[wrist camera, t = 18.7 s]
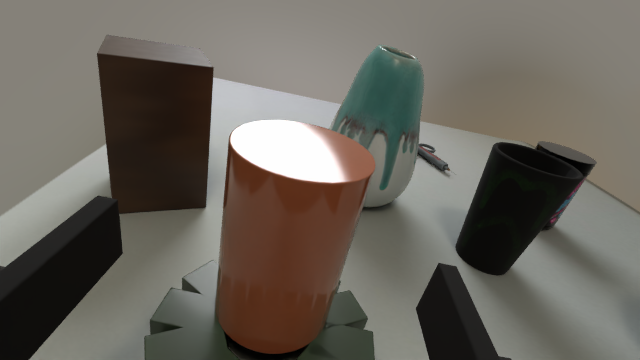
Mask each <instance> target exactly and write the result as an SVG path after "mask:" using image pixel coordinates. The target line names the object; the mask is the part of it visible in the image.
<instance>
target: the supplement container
mask: <svg viewBox="0 0 640 360" xmlns="http://www.w3.org/2000/svg"><path fill="white" fill-rule="evenodd" d="M535 150H538V151H541V152H544V153H546V154H549V155H552V156H554V157H556V158H558V159H560V160H562V161H564V162H566V163H568V164H570V165H572V166H573V167H575V168H576V169H578V170H579V171H580V172H581V173H582V175H583V180H582V181H581V182H580V183H579V185H578V186H577V187H576V188H575V190H574V191H573V192H572V193H571V194H570V196H569V197H568V198H567V199H566V200H565V202H564V203H563V204H562V205H561V207H560V208H559V209H558V210H557V211H556V213H555V214H554V215H553V216H552V217H551V219H550V220H549V221H548V222H547V224H546V225H545V226H544V227H543V228H542V230H546V229H550V228H552V227H554V225H555V224H556V222H557V221H558V219H559V218H560V216H561V215H562V213H563V212H564V210H565V209H566V207H567V206H568V204H569V203H570V201H571V200H572V198H573V197H574V195H575V194H576V192H577V191H578V189H579V188H580V186H581V185H582V183H583V182H584V180H585V179H586V177H587V176H588V175H589V174H590V172H591V170H592V169H593V167H594V166H595V164H596V161H595V160H594V159H592V158H591V157H589V156H587V155H585V154H583V153H581V152H578V151H576V150H573V149H571V148H568V147H565V146H561V145H558V144H554V143H550V142H543V141H541V142H538V144H537V146H536V148H535Z"/></svg>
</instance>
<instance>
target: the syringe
mask: <svg viewBox="0 0 640 360" xmlns="http://www.w3.org/2000/svg"><path fill="white" fill-rule="evenodd" d="M422 146H424V147H427V148H430V149H432V150H427V149H425V148H423V147H422ZM434 152H435V148H433V147H432V146H430V145H427V144H418V153H419V154H420V155H422V156H423V157H425V158H426V159H427V160H429V161H430V162H432V163H433V164H435V165H436V166H437V167H439V168H440V169H442V170H448V171H450V169H449V168H448V164H447V163H445V162H444V161H443V160H441V159H440V158H438V157H437V156H435V155H434V154H432V153H434ZM451 172H452V171H451ZM454 174H455V173H454Z"/></svg>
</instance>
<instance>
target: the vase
mask: <svg viewBox="0 0 640 360" xmlns="http://www.w3.org/2000/svg"><path fill="white" fill-rule="evenodd" d="M423 92H424V75H423V70H422V67H421V64H420V63H419V61H418V59H417V58H416V57H415V56H413V55H411V54H409V53H406V52H403V51H400V50H398V49H396V48H393V47H389V46H385V45H378V46H377V47H376V49H374V50H373V51H372V52H371V53H370V55H369V56H368V57H367V58H366V60H365V61H364V63H363V64H362V66H361V67H360V69H359V71H358V73H357V75H356V77H355V79H354V81H353V83H352V85H351V87H350V89H349V91H348V94H347V96H346V98H345V99H344V101H343V103H342V105H341V106H340V108H339V110H338V112H337V113H336V115H335V117H334V119H333V121H332V123H331V125H330V127H329V130H332V131H335V132H338V133H340V134H342V135H345V136H347V137H349V138H351V139H353V140H354V141H356V142H358V143H359V144H361V145H362V146H363V147H365V148H366V149H367V150H368V151H369V152H370V153H371V155H372V156H373V157H374V160H375V164H376V167H375V172H374V175H373V178H372V181H371V184H370V187H369V190H368V193H367V196H366V200H365V203H364V206H363V207H378V206H382V205H385V204H388V203H390V202H391V201H393V200H395V199H396V198H397V197H398V196H400V195H401V193H402V192H403V191H404V190H405V188H406V187H407V185H408V184H409V182H410V180H411V177H412V175H413V171H414V167H415V163H416V158H417V152H418V144H419V131H420V116H421V108H422V100H423Z"/></svg>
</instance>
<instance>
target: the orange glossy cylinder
mask: <svg viewBox="0 0 640 360" xmlns="http://www.w3.org/2000/svg"><path fill="white" fill-rule="evenodd" d="M375 167H376V164H375V160H374V157H373V156H372V155H371V153H370V152H369V151H368V150H367V149H366V148H365V147H363V146H362V145H361V144H359V143H358V142H356V141H354V140H353V139H351V138H349V137H347V136H345V135H342V134H340V133H338V132H335V131H332V130H329V129H326V128H323V127H320V126H316V125H311V124H307V123H302V122H295V121H285V120H262V121H255V122H250V123H246V124H243V125H241V126H239V127H237V128H235V129H234V130H233V131H232V133H231V134H230V136H229V143H228V155H227V167H226V179H225V191H224V203H223V215H222V227H221V238H220V250H219V262H218V274H217V286H216V298H215V311H216V316H217V319H218V321H219V323H220V325H221V327H222V329H223V330H224V331H225V332H226V334H227V335H228V336H229V337H230V338H232V339H233V340H234V341H235V342H237V343H238V344H240V345H242V346H243V347H245V348H248V349H250V350H253V351H256V352H261V353H268V354H281V353H288V352H292V351H295V350H298V349H300V348H302V347H304V346H306V345H308V344H309V343H311V342H312V341H313V340H314V339H315V338H316V337H317V336H318V335H319V334H320V333H321V331H322V329H323V328H324V326H325V323H326V321H327V318H328V315H329V311H330V308H331V305H332V302H333V299H334V296H335V293H336V290H337V287H338V283H339V280H340V277H341V274H342V271H343V268H344V265H345V262H346V259H347V255H348V252H349V249H350V246H351V243H352V240H353V237H354V234H355V231H356V227H357V224H358V221H359V218H360V215H361V212H362V209H363V206H364V203H365V200H366V196H367V193H368V190H369V187H370V184H371V181H372V178H373V175H374V172H375Z"/></svg>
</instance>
